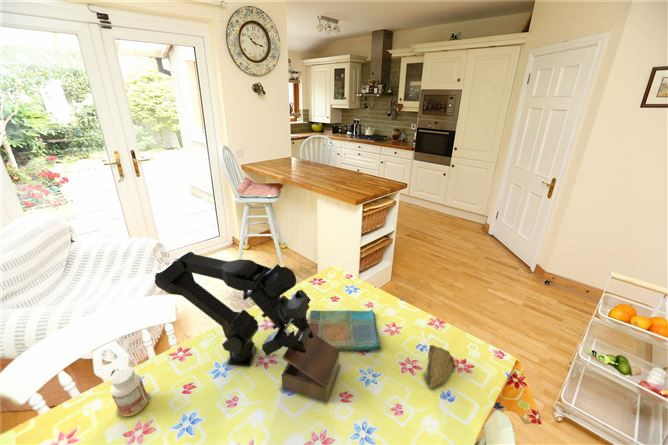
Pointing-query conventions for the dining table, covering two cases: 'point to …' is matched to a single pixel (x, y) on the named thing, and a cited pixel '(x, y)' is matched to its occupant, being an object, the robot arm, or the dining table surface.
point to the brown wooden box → (306, 382)
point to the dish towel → (346, 329)
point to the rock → (438, 366)
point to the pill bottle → (128, 391)
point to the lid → (313, 357)
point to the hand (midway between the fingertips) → (308, 344)
